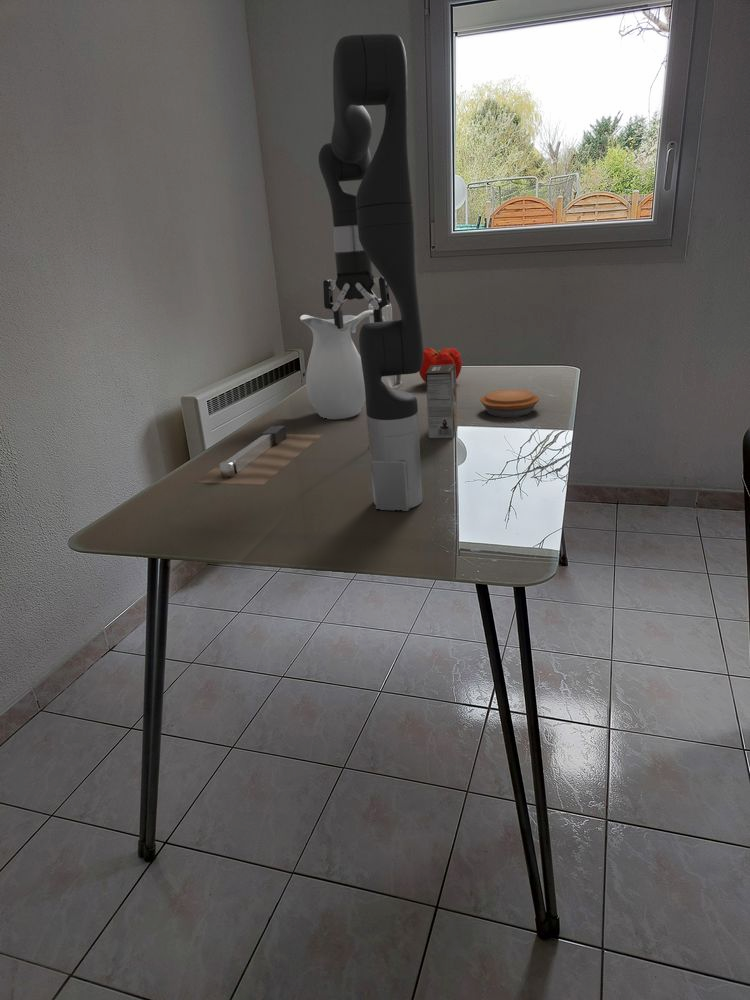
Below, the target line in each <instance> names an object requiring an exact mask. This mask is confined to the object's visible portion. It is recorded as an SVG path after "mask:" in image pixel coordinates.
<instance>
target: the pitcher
mask: <svg viewBox="0 0 750 1000" xmlns="http://www.w3.org/2000/svg"><path fill="white" fill-rule="evenodd" d="M369 316H373V317H374V314H373V310H369V309H368V310H364V311H362V312H361V313H359V314H358V315H352V314H347V315H343V328H341V329H338V328H337V326H335V323H334V318H333V319H332V318H330V319H323V318H320V317H316V316H311V315H309V314H302V315H301V316H300V317H299V321H300V322H302V323H304V324H305V325H306V326H307V327H309V329H310V330H311V333H312V337H313V339H312V340H313V341H312V347H311V351H310V355H309V357H308V362H307V367H306V375H305V385H306V392H307V395H308V399H309V402H310V404H311V405H312V407H313V409H314V410H315V411H316V413H317V414H318V415H319V416H320V417H321V418H322V417H323V418H322V419H324V418H327V419H326V420H342V419H343V420H344V419H345V420H346V419H349V418H353V417H355V416H358V415H359V414H360V413H361V411H362V409H363V407H364V404H365V403H366V397H365V385H364V377H363V370H362V363H361V356H360V353H359V351H358V349H357V347H356V345H355V343H354V341H353V339H352V335H351V333H352V334H355V333H356V331H357V330H356V329H357V326H358V325H359V324H360V322H362V320H363V319H365V318H367V317H369ZM382 321H383V322H385V319H384V317H383V316H382Z"/></svg>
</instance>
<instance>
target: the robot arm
mask: <svg viewBox="0 0 750 1000" xmlns="http://www.w3.org/2000/svg"><path fill="white" fill-rule="evenodd" d="M332 63H333V64H332V95H333V98H332V99H333V100H332V101H333V112H334V113H333V114H334V115H333V116H334V122H333V128H332V134H331V141H330V142H328V143H324V144H323V145H322V147H321V148H320V150H319V152H318V157H317V158H318V165H319V166H318V167H319V169H320V172H321V176H322V178H323V180H324V182H325V185H326V189H327V193H328V195H329V200H330V205H331V213H332V222H333V247H334V255H335V256H334V261H335V268H336V269H335V270H336V279H331V278H328V279H324V280H323V284H322V285H323V307H324V308H325V309H326V310H327V309H328V310H331V311H332V312H333V319H334V323H335V326H337V328H338V329H341V328H343V316H344V314H343V310H341V309H342V307H343V305H344V304H345V303H346V301H347V300H348V301H349V300H350V301H352V300H355V299H356V300H363V299H365V300H366V301H367V302H368V303H369V304H371V305H370V306H373V307H374V310H373V314H374V323H370V322H368V323H364V324H363V325H361V327H360V330H359V334H358V335H359V336H358V343H359V344H358V347H359V352H360V353H359V355H360V357H361V363H362V370H363V377H364V385H365V397H366V399H365V410H366V412H365V413H366V421H367V422H366V423H367V436H368V437H367V439H368V447H369V449H368V450H369V461H370V470H371V471H370V473H371V475H370V476H371V486H372V497H373V503H374V506H375V505H376V506H375V510H376V509H380V511H395V510H398V511H399V510H402V511H401V512H408V511H410V509H412V508H415V507H417V506H419V505H420V504H422V502H423V489H422V487H423V486H422V468H421V450H420V449H421V447H420V433H419V432H420V430H419V425H420V424H419V412H418V411H419V406H418V400H417V397H416V396H415V395H414V394H412V393H411V392H407V391H405V390H402V389H401V390H400V389H394V388H391V387H389V386H388V385H386V384H384V383H383V382H382V381H381V378H382V377H383V376H394V375H395V376H396V375H401V376H403V375H410V374H417V373H419V371H420V370H421V368H422V364H423V351H424V342H423V333H422V331H423V330H422V322H421V314H420V307H419V306H420V305H419V298H418V289H417V279H416V277H417V275H416V254H415V253H416V252H415V250H416V249H415V226H414V225H415V221H414V205H413V195H412V194H413V193H412V184H411V170H410V169H411V168H410V159H409V137H408V136H409V135H408V130H409V129H408V126H409V125H408V119H409V118H408V63H407V54H406V47H405V45H404V42H403V40H402V38H401V36H399V35H398V34H394V33H378V34H377V33H376V34H374V33H373V34H370V33H369V34H351V35H346V36H342V37H341V38H340V39H338V41H337V43H336V45H335V49H334V53H333V60H332ZM364 106H365V107H367V106H384V108H385V117H384V118H385V119H384V126H383V130H382V134H381V136H380V140H379V143H378V146H377V148H376V150H375V152H374V155H373V157H372V156H371V151H370V148H369V145H370V141H371V138H372V134H373V123H372V120H371V119H372V117H371V116H370V114H369V112H368V111H367V109H366V108H365V107H364ZM351 181H352V182H353V181H354V182H355V181H361V182H360V184H359V187H358V190H357V192H356V193H354V192H348V191H345V190H344V189H343V188H342V187H341V185H340V182H342V183H343V182H351ZM372 264H373V266H374V267H375V269H377V271H378V272H379V274H380V275H381V276H379V277H374V275H373V269H372ZM374 285H376V287H377V288H379V293H380V299H381V300H378V299H379V297H377V295H376V294H375V292H374V291H373V290H372V288H373V287H374ZM335 288H337V289H338V290H339V292H340V293H339V295H338V296H337V298H336V299H335V300H336V301H335V302H334V291H333V290H335ZM389 289H390V290H389ZM390 291H391V293H392V294H393V296H394V299H395V301H396V303H397V306H398V309H399V312H400V313H399V314H400V318H401V319H400V320H392V321H386V322H383V321H382V308H383V307H384V306H387V305H389V304H391V298H390ZM398 511H397V512H398ZM399 512H400V511H399Z"/></svg>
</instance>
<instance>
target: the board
mask: <svg viewBox="0 0 750 1000" xmlns="http://www.w3.org/2000/svg"><path fill="white" fill-rule="evenodd" d="M322 435H323V434H291V433H290V434H287V433H286V437H287V438H286V439H284V440H283V441H282V442H280V443H279V444H278V445H273V446H272V447H271V448H269V449H268V450H267V451H265V452H264V453H263V454H261V455H260V456H259V457H257V458H256V459H255V460H254V461H252V462H251V463H250V464H248V465H247V466H246V467H244V468H243V469H242V470H240V471H239V472H238V473H235V476H234V477H233V478H229V479H223V478H222V476H221V470H220V464H218V465H217V466H216V467H213V468H212V469H211V470H209V471H208V472H206V473H205V474H204V475H202V476H201V477H199V478H198V479H197V480H195V481H194V483H196V484H197V483H202V484H221V485H222V484H225V485H226V484H228V485H229V484H230V485H248V486H250V485H252V486H264V485H265V484H266V483H267V482H268V481H269V480H271V479H272V478H273V477H274V476H276V475H277V474H278V473H279V472H280V471H282V470H283V469H284V468H286V466H287V465H288V464H290V463H291V462H292V461H293V460H294V459H296V458H297V457H298V456H299V455H301V454H302V453H303V452H304V451H305V450H306V449H307V448H308V447H310V446H311V445H312V444H313V443H314V442H316V441H317V440H318V439H319V438H320V437H321V436H322ZM260 437H261V435H260V436H258V437H257V438H256V439H254V440H253V441H252V442H250V443H248V444H247V445H246V446H245V447H247V446H248V445H250V444H251V443H253V442H254V441H255V440H257V439H258V438H260ZM245 447H243V448H242V449H244V448H245ZM242 449H240V450H238V451H237V452H236V453H234V454H233V455H231V456H230V457H228V458H227V459H225V460H224V461H227V460H228V459H229V458H231V457H232V456H234V455H235V454H237V453H238V452H240V451H241V450H242Z"/></svg>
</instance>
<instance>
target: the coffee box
mask: <svg viewBox="0 0 750 1000" xmlns="http://www.w3.org/2000/svg"><path fill="white" fill-rule="evenodd" d="M425 387H426V388H425V389H426V407H427V409H426V410H427V429H428V431H427V432H428V438H429V439H454V438H455V436H456V432H457V429H458V427H459V425H458V401H457V379H456V364H450V365H431V366H430V367H429V369H428V371H427V372H426V383H425Z"/></svg>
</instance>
